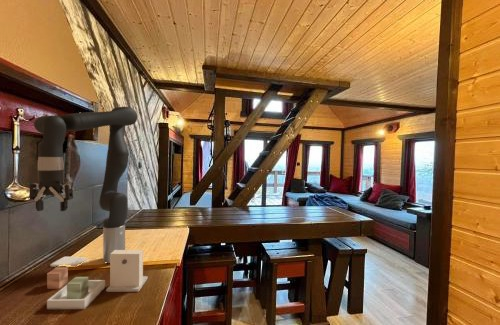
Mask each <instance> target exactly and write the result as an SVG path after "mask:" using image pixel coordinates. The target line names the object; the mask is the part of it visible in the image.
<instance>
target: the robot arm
mask: <svg viewBox="0 0 500 325" xmlns="http://www.w3.org/2000/svg"><path fill="white" fill-rule="evenodd" d="M137 121H138V112H137V111H136V110H135V109H134V108H132V107H131V106H117V107H114V108H112V109H111V110H108V111H90V112H88V111H86V112H77V113H76V112H75V113H68V114H59V115H57V114H56V115H43V116H42V115H41V116H39V117H38V118H36V119H35V120H34V122H33V127H34V129H35V130H36V131H37V132H38V133H40V134H43V137H42V140H41V141H40V142H39V143H38V144H37V145H38V147H37V150H38V151H37V153H38V158H37V159H38V160H37V181H38V182H39V183H38V182H33V183H30V184H29V193H28V194H29V195H28V196H29V197H28V199H29V198H30V199H29V200H33V201H35V210H36V211H37V212H42V211H44V207H45V206H44V199H45V197H46V196H50V197H51V196H53V197H54V196H55V197H56V198H57V199H59V201H60V202H59V203H60V204H59V205H60V206H59V208H60V210H59V211H60V212H65V211H67V209H68V207H69V205H68V203H69V202H68V201H69V200H72V199H74V192H73V184H72V183H66V184H64V180H65V167H64V166H65V164H64V163H65V162H64V155H63V154H64V153H63V151H64V150H63V144H64V142H65V138H66V135H67V134H66V133H67V132H79V131H85V130H89V129H91V130H92V129H96V128H101V127H106V126H107V127H109V137H108V146H107V154H106V162H105V170H104V175H103V176H104V177H103V182H102V186H101V191H100V195H99V201H98V202H99V207H100V208H101V209H102V210H103V211H107V212H108V213H109V215H108V218H105V219H104V220H103V222H102V232H103V233H102V237H103V238H102V241H103V242H102V245H103V246H102V247H103V248H102V251H103V252H102V254H103V256H102V258H103V259H102V260H103V261H104V262H107V263H110V254H111V253H112V252H113V251H114V250H126V220H127V218H128V209H129V208H128V205H129V204H128V197H127V196H126V194H125V193H122V192H118V185H119V182H120V179H121V178H122V176H123V175H124V173H125V172H126V170H127V167H128V163H129V154H130V152H129V147H128V145H127V143H126V140H125V130H126V126H127V127H128V126H129V127H130V126H132V125H134V124H136V123H137ZM103 261H102V262H103ZM104 262H103V263H104Z"/></svg>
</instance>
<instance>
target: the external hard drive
mask: <svg viewBox="0 0 500 325" xmlns="http://www.w3.org/2000/svg"><path fill="white" fill-rule="evenodd" d="M89 258H90V257H81V256H80V257H79V256H68V255H67V256H63V257H61V258H59V259H57V260H55V261H53V262H52V263H50V267H54V268H57V267H56V266H59V265H63V264H65V265H71V266H75V267H76V266H77V265H78V264H81V263H82V262H84V261H86V260H87V259H89Z"/></svg>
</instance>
